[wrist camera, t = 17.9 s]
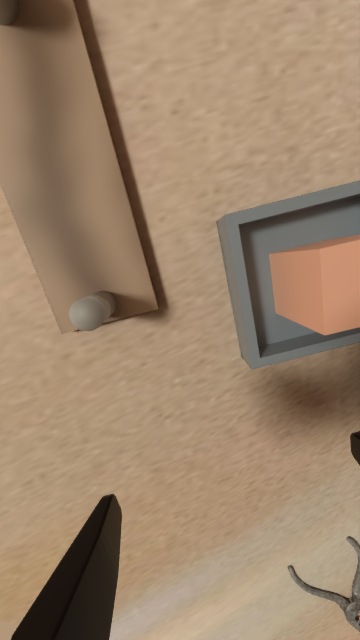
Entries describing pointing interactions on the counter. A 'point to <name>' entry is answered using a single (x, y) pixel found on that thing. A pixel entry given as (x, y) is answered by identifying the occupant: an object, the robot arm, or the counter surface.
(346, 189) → the tray
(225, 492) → the counter surface
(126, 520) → the counter surface
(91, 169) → the peg rack
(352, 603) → the pliers
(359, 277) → the block
